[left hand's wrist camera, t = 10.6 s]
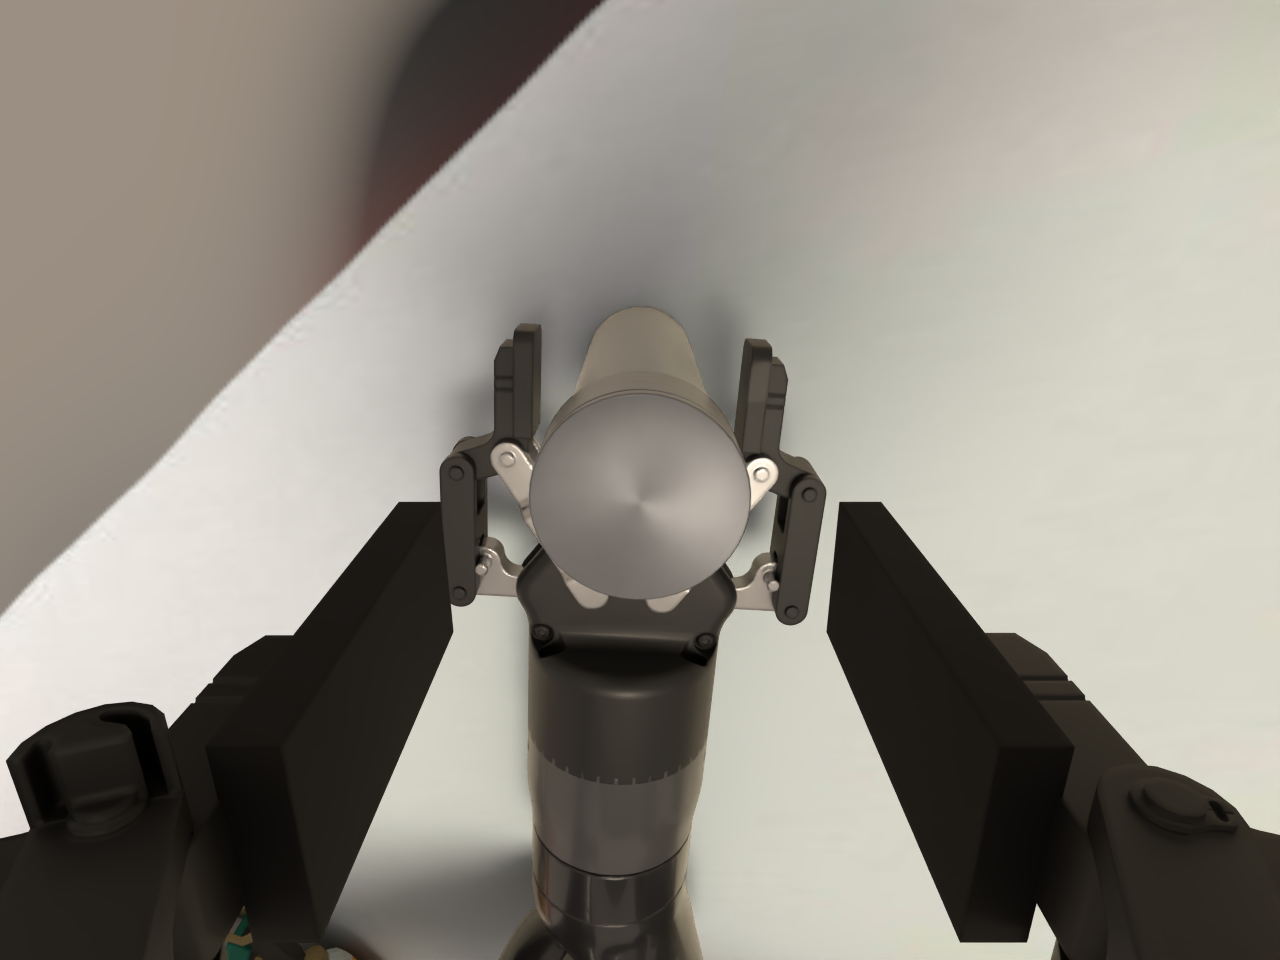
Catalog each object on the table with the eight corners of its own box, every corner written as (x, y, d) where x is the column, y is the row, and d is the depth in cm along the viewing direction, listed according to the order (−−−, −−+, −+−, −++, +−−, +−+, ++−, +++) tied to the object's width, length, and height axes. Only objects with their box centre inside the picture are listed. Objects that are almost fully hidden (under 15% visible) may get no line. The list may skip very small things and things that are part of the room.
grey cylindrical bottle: (662, 287, 32) (682, 368, 17) (708, 380, 33) (765, 532, 18) (569, 336, 32) (509, 456, 17) (618, 425, 34) (601, 607, 19)
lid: (685, 333, 18) (691, 352, 16) (770, 506, 20) (787, 545, 18) (504, 426, 19) (486, 457, 17) (600, 586, 21) (595, 632, 18)
